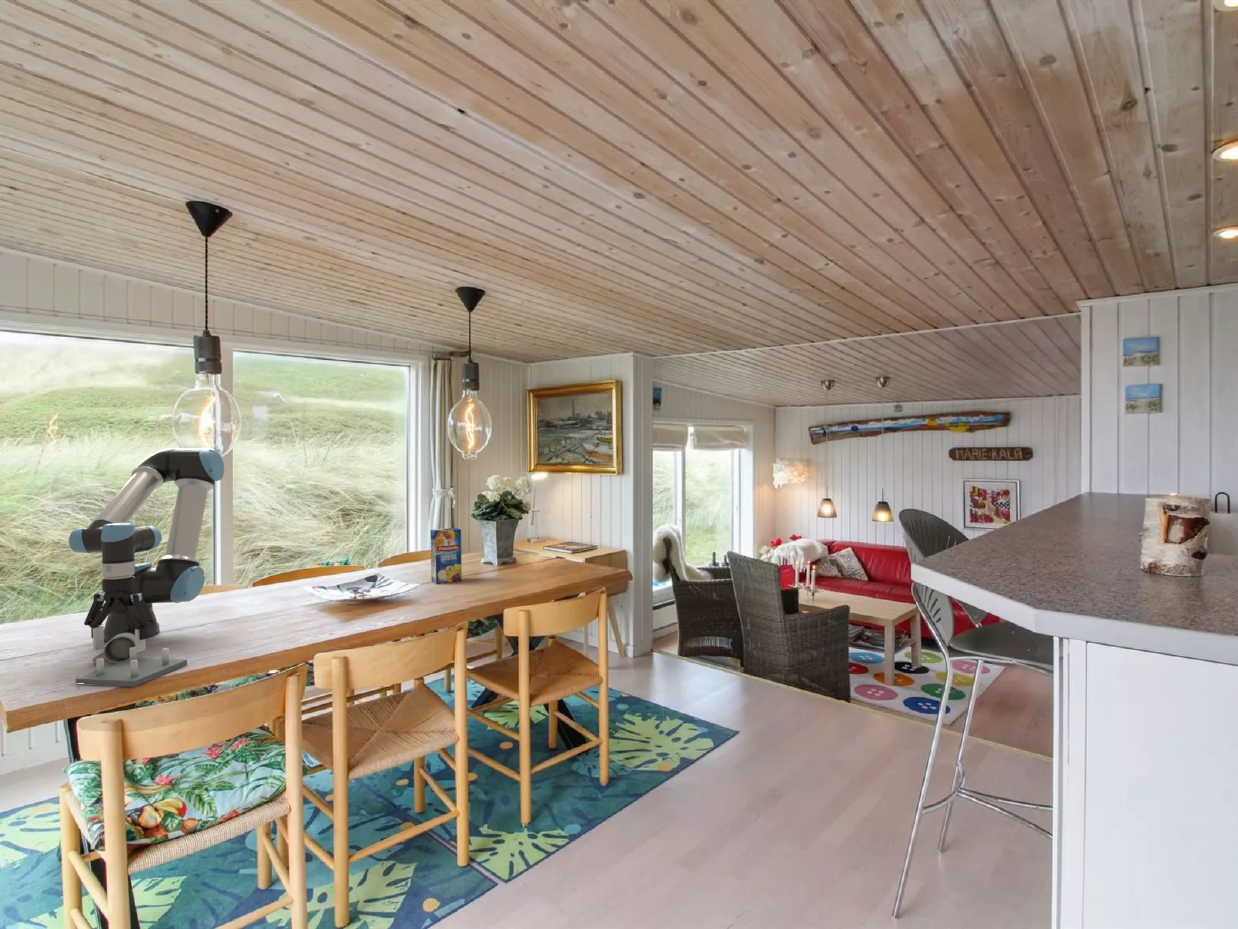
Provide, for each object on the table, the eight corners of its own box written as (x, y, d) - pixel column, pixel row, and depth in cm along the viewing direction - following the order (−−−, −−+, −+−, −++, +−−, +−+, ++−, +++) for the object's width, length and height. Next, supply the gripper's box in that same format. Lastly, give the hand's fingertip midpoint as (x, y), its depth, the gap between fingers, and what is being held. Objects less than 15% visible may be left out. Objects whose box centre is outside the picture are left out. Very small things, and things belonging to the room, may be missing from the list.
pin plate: (76, 684, 167) (75, 663, 167) (133, 662, 184) (132, 643, 184) (134, 686, 165) (134, 665, 165) (187, 664, 182) (186, 645, 182)
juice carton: (456, 578, 303) (455, 527, 302) (461, 581, 296) (461, 529, 296) (431, 581, 296) (430, 529, 296) (435, 584, 290) (435, 531, 289)
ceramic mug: (140, 653, 193) (139, 628, 192) (136, 661, 186) (135, 634, 185) (95, 660, 187) (94, 634, 187) (90, 668, 180) (88, 641, 180)
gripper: (67, 578, 184) (68, 652, 184) (146, 579, 181) (147, 655, 181) (92, 574, 191) (93, 645, 191) (168, 575, 188) (169, 647, 188)
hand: (119, 650), depth 186 cm, fingers open, 13 cm apart
